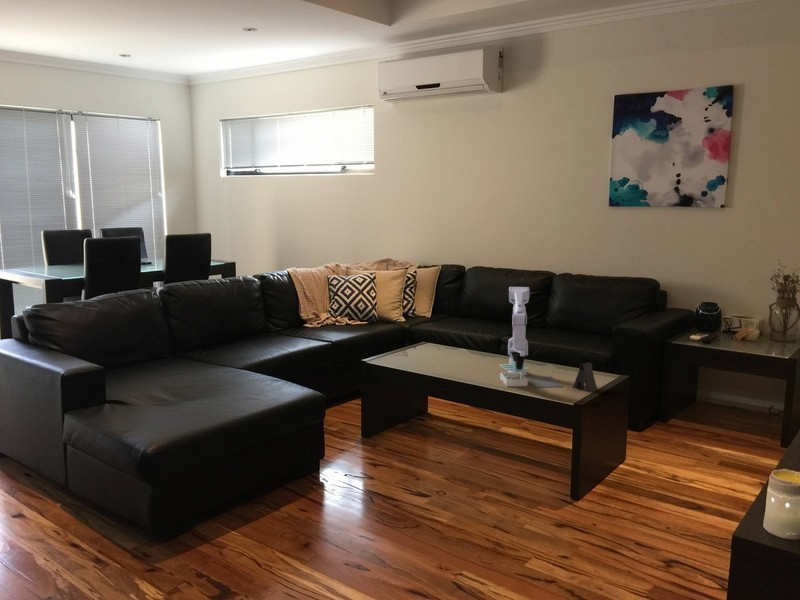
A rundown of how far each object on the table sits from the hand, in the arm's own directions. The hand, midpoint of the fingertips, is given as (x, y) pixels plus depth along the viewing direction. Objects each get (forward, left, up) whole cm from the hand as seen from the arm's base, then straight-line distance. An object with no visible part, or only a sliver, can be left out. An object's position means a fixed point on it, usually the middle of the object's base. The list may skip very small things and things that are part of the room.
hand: (518, 368), depth 311 cm
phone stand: (+5, +30, -9) cm, 32 cm away
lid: (-7, 0, -2) cm, 7 cm away
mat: (-8, +14, -9) cm, 19 cm away
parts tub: (-8, 0, -9) cm, 12 cm away
